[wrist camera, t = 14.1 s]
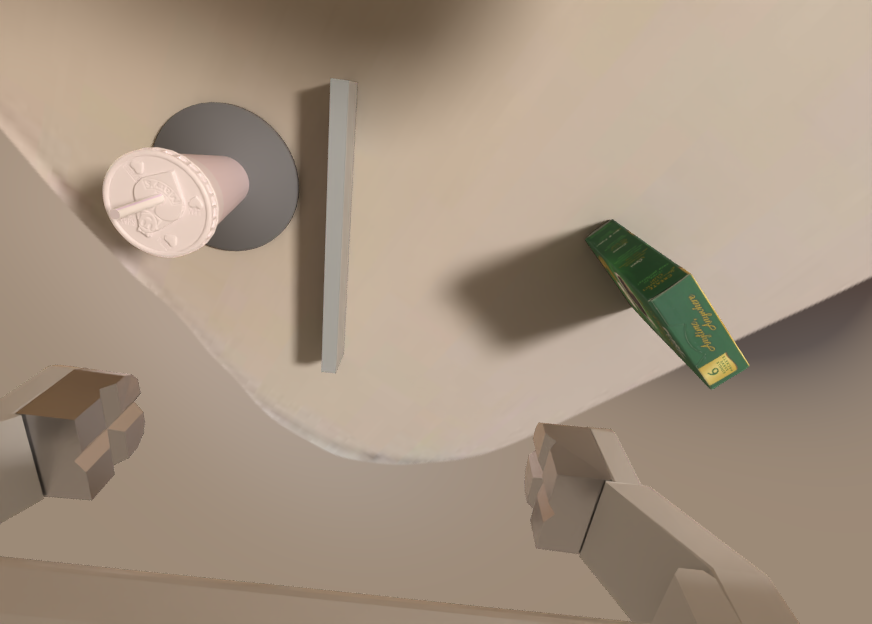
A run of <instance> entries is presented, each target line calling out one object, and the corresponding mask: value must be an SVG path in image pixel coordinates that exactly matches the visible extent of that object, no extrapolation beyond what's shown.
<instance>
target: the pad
mask: <svg viewBox="0 0 872 624" xmlns="http://www.w3.org/2000/svg"><path fill="white" fill-rule="evenodd" d="M154 147H160V148H164V149H169V150H173V151H175V152H177V153H179V154H196V155H216V156H227V157H230V158H232V159H234V160H236V161H237V162H238V163H239V164H240V165H241V166H242V167H243V168H244V170H245V171H246V173H247V176H248V179H249V190H248V193H247V195H246V197H245V198H244V199H243V200H242V201H241V202H240V203H239V204H238V205H237V206H236V207H235V208H234V209H233V210H232V211H231V212H230V213H229V214H228V215H227V216H226V217H225V218H224V219H223V220H222V221H221V222H220V223H219V224H218V225H217V227H216V230H215V233H214V235H213V236H212V237H211V239H210V240H209V241H208V243H207V245H209V246H212V247H215V248H218V249H223V250H230V251H243V250H250V249H254V248H257V247H260V246H263V245H265V244H266V243H268V242H270V241H271V240H273V239H274V238H276V237H277V236H278V235H279V234H280V233H281V232H282V231H283V230H284V229H285V228H286V227H287V225H288V224H289V222H290V221H291V219H292V217H293V215H294V212H295V210H296V207H297V202H298V196H299V179H298V174H297V169H296V166H295V162H294V159H293V157H292V155H291V153H290V151H289V149H288V147H287V145H286V144H285V142H284V141H283V139H282V138H281V137H280V135H279V134H278V133H277V132H276V131H275V130H274V129H273V128H272V127H271V126H270V125H269V124H268V123H267V122H266V121H264V120H263V119H262V118H260V117H259V116H257V115H256V114H254V113H252V112H250V111H248V110H246V109H244V108H241V107H238V106H235V105H231V104H226V103H214V102H211V103H201V104H196V105H192V106H190V107H187V108H185V109H183V110H181V111H179V112H178V113H176V114H175V115H174V116H172V117H171V118H170V119H169V120H168V121H167V122H166V124H165V125H164V126H163V127H162V129H161V131H160V132H159V134H158V136H157V138H156V141H155V143H154Z"/></svg>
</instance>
